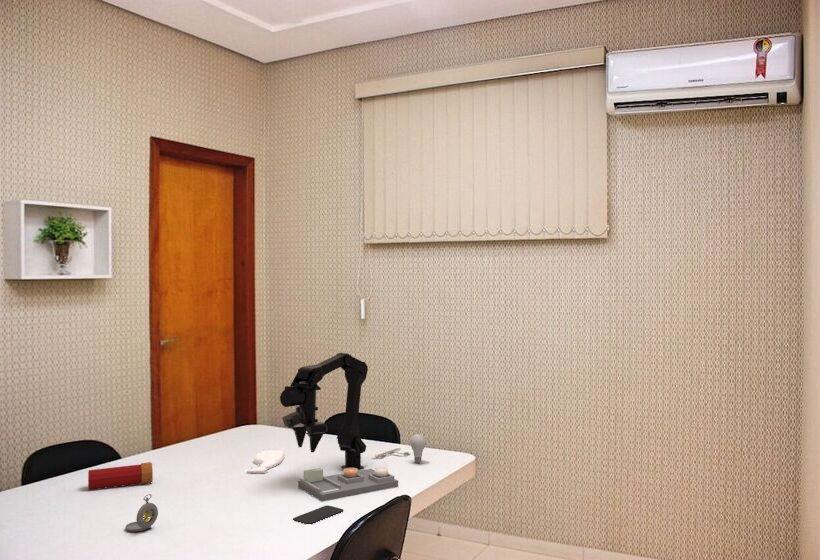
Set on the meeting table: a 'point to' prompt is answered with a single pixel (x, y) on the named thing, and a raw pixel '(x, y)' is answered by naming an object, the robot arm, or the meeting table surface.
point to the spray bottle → (267, 460)
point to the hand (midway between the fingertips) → (306, 449)
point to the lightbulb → (417, 446)
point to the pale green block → (313, 475)
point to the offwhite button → (381, 471)
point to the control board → (347, 485)
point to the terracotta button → (350, 472)
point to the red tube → (120, 476)
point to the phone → (318, 514)
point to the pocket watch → (148, 511)
